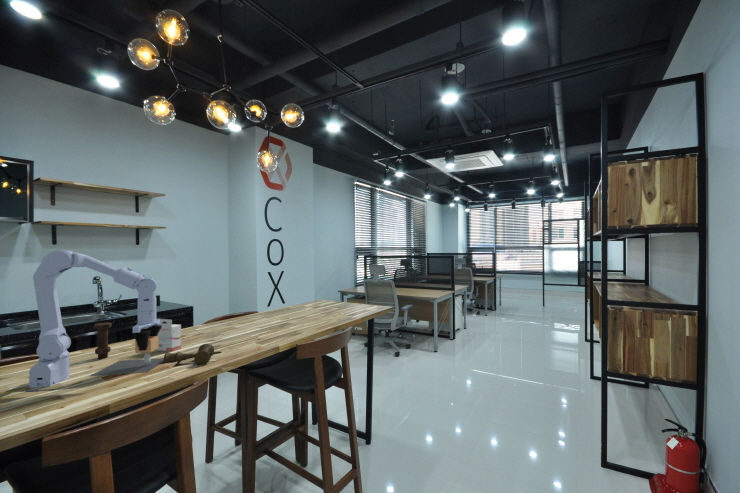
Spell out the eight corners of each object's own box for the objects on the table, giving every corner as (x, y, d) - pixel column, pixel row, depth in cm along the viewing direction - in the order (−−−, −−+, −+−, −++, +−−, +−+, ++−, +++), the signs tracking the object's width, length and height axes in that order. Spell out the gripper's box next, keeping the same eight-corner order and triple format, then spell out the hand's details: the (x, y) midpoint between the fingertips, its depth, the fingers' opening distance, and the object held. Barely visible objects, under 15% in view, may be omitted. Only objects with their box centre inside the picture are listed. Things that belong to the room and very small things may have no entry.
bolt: (115, 359, 131) (115, 322, 131) (103, 363, 126) (103, 325, 126) (102, 359, 132) (102, 322, 132) (90, 363, 127) (90, 325, 127)
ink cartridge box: (182, 351, 141) (181, 317, 141) (172, 355, 136) (171, 319, 136) (166, 350, 143) (166, 316, 143) (156, 353, 138) (156, 318, 139)
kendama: (168, 362, 128) (223, 355, 134) (160, 371, 119) (220, 363, 125) (167, 347, 128) (223, 341, 134) (160, 355, 119) (219, 348, 125)
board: (147, 376, 111) (147, 359, 112) (89, 380, 109) (89, 362, 109) (169, 361, 127) (169, 346, 127) (119, 364, 125) (119, 348, 125)
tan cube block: (150, 352, 117) (150, 339, 117) (135, 353, 116) (135, 340, 116) (158, 348, 122) (158, 336, 122) (143, 348, 121) (143, 336, 121)
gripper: (148, 313, 113) (148, 353, 112) (168, 307, 127) (168, 341, 127) (125, 314, 112) (126, 354, 112) (148, 307, 126) (149, 343, 126)
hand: (147, 347), depth 119 cm, fingers closed on tan cube block, 5 cm apart
